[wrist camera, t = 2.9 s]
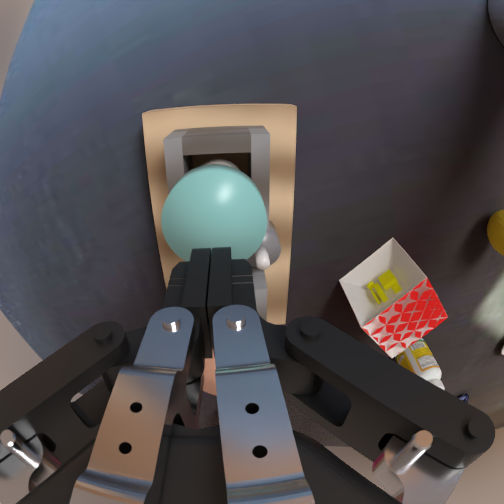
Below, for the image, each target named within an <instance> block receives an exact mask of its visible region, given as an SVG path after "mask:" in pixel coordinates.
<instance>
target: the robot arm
mask: <svg viewBox="0 0 504 504" xmlns="http://www.w3.org/2000/svg"><path fill="white" fill-rule="evenodd" d="M488 13H489V17H490V21H491V24H492V27H493V29H494V31H495V33H496V35H497V37H498V39H499V41H500V42H501V43H502V45H503V46H504V0H488ZM213 352H214V358H215V364H216V370H215V379H216V391H217V403H218V414H219V424H220V425H217V426H213V427H208V428H204V429H199V414H200V407H201V399H202V392H203V385H204V378H205V375H204V368H205V359H207V358H213ZM99 376H100V377H101V379H102V381H101V382H100V383H98V384H97V385H96V386H94V387H93V388H92V389H91V390H89V391H88V392H87V393H85V394H84V395H83V396H81V397H80V398H79V399H77V400H76V401H74V402H71V399H72V398H73V396H74V395H75V394H77V393H78V392H79V391H81V390H82V389H83V388H85V387H86V386H87V385H89V384H90V383H91V382H93V381H94V380H95V379H97V378H98V377H99ZM284 397H285V398H286V399H287V400H288V401H289V402H291V403H292V404H293V405H294V406H296V407H297V408H298V409H300V410H301V411H302V412H303V413H305V414H306V415H307V416H309V417H310V418H311V419H313V420H314V421H315V422H317V423H318V424H320V425H321V426H322V427H324V428H325V429H326V430H328V431H329V432H330V433H332V434H333V435H335V436H336V437H337V438H339V439H340V440H342V441H343V442H345V443H346V444H347V445H349V446H350V447H352V448H353V449H355V450H356V451H358V452H359V453H361V454H362V455H364V456H365V457H367V458H368V459H370V460H371V461H373V462H374V463H373V467H372V472H373V476H374V478H375V480H376V481H377V483H378V484H379V485H381V486H382V487H383V488H384V489H385V491H386V492H385V491H383V490H382V489H380V488H379V487H377V486H376V485H375V484H373V483H372V482H370V481H369V480H368V479H366V478H365V477H363V476H362V475H361V474H359V473H358V472H357V471H355V470H354V469H353V468H351V467H350V466H349V465H347V464H346V463H345V462H343V461H342V460H340V459H339V458H338V457H337V456H335V455H334V454H333V453H332V452H330V451H329V450H328V449H327V448H325V447H324V446H323V445H321V444H320V443H319V442H317V441H316V440H314V439H312V438H311V437H309V436H306V435H304V434H302V433H299V432H296V431H293V430H292V427H291V423H290V419H289V416H288V412H287V408H286V404H285V400H284ZM70 402H71V403H70ZM494 438H495V428H494V425H493V422H492V420H491V419H490V418H489V416H488V415H486V414H485V413H484V412H482V411H480V410H479V409H477V408H475V407H473V406H471V405H470V404H468V403H466V402H464V401H462V400H461V399H459V398H457V397H455V396H454V395H452V394H450V393H448V392H446V391H445V390H443V389H441V388H439V387H438V386H436V385H434V384H432V383H431V382H429V381H427V380H425V379H424V378H422V377H420V376H418V375H417V374H415V373H413V372H411V371H410V370H408V369H406V368H404V367H403V366H401V365H399V364H397V363H396V362H394V361H392V360H391V359H389V358H387V357H385V356H384V355H382V354H380V353H379V352H377V351H375V350H373V349H372V348H370V347H368V346H367V345H365V344H363V343H362V342H360V341H358V340H356V339H355V338H353V337H351V336H350V335H348V334H346V333H345V332H343V331H341V330H340V329H338V328H336V327H335V326H333V325H331V324H330V323H328V322H326V321H325V320H323V319H320V318H317V317H311V316H306V317H300V318H297V319H295V320H293V321H292V322H290V323H289V325H288V326H287V327H286V326H280V325H275V324H272V323H269V322H267V321H266V320H264V319H263V318H262V317H261V316H260V315H259V314H258V312H257V308H256V299H255V291H254V283H253V274H252V266H251V265H250V264H249V263H248V261H247V260H246V259H232V255H231V247H214V248H212V250H211V248H193V249H192V251H191V256H190V261H185V262H179V263H178V264H177V265H176V266H175V267H174V268H173V269H172V271H171V275H170V279H169V282H168V287H167V290H166V294H165V298H164V302H163V305H162V309H161V310H159V311H158V312H156V313H155V314H154V315H153V316H152V317H151V319H150V321H149V323H148V326H147V327H144V328H142V329H138V330H134V331H129V332H125V331H124V329H123V327H122V326H121V325H119V324H118V323H115V322H102V323H99V324H96V325H94V326H93V327H91V328H90V329H88V330H87V331H85V332H84V333H82V334H81V335H79V336H78V337H76V338H75V339H73V340H72V341H71V342H69V343H68V344H66V345H65V346H63V347H62V348H60V349H59V350H57V351H56V352H55V353H53V354H52V355H50V356H49V357H47V358H46V359H44V360H43V361H42V362H40V363H39V364H37V365H36V366H34V367H33V368H32V369H30V370H29V371H27V372H26V373H25V374H23V375H22V376H20V377H19V378H18V379H16V380H15V381H13V382H12V383H10V384H9V385H8V386H6V387H5V388H3V389H2V390H1V391H0V501H1V503H2V504H445V503H446V501H447V500H448V498H449V496H450V495H451V493H452V491H453V490H454V488H455V486H456V484H457V482H458V480H459V479H460V477H461V475H462V473H463V471H464V469H465V468H466V467H468V466H469V465H470V464H471V463H472V462H474V461H475V460H476V459H477V458H478V457H480V456H481V455H482V454H483V453H485V452H486V451H487V450H488V449H489V448H490V447H491V445H492V444H493V441H494Z"/></svg>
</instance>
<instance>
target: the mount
mask: <svg viewBox="0 0 504 504" xmlns="http://www.w3.org/2000/svg"><path fill="white" fill-rule="evenodd" d="M142 118H143V130H144V142H145V152H146V161H147V170H148V179H149V187H150V194H151V202H152V209H153V216H154V222H155V229H156V235H157V241H158V247H159V253H160V258H161V264H162V269H163V275H164V280H165V285H166V290H167V287H168V282H169V279H170V275H171V271H172V269H173V268H174V267H175V266H176V265H177V264H178V263H179V262H185V261H184V260H183V259H181V258H180V257H179V256H178V255H176V254H175V253H174V251H173V250H172V249H171V248H170V246H169V245H168V243H167V241H166V240H165V237H164V235H163V231H162V226H161V214H162V209H163V206H164V203H165V201H166V199H167V197H168V195H169V193H170V192H171V190H172V188H173V186H174V185H175V183H176V182H177V181H178V180H179V179H180V178H181V177H182V176H183V175H184V174H186V173H187V172H188V171H190V170H192V169H194V168H197V167H199V166H201V165H202V164H204V163H205V162H207V161H210V160H213V159H224V160H228V161H230V162H232V163H233V164H235V165H236V166H237V167H238V168H239V170H240V171H242V172H243V173H245V174H246V175H247V176H249V177H250V178H251V179H252V180H253V181H254V183H255V184H256V185H257V187H258V189H259V191H260V193H261V195H262V198H263V202H264V206H265V210H266V214H267V229H266V230H269V220H270V221H271V222H272V223H273V224H274V226H275V228H276V231H277V235H278V238H279V242H280V245H281V253H280V256H279V258H278V259H277V261H276V262H274V263H273V264H272V265H270V266H269V268H268V269H266V270H260V269H259V268H257V267H253V266H252V274H253V283H254V291H255V299H256V308H257V312H258V314H259V315H260V316H261V317H262V318H263V319H264V320H266V321H267V322H269V323H272V324H275V325H277V324H285V322H286V310H287V297H288V284H289V270H290V255H291V238H292V221H293V202H294V180H295V154H296V119H297V106H294V105H291V104H222V105H203V106H189V107H177V108H167V109H158V110H151V111H148V112H145V113H142Z"/></svg>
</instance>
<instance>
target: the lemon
mask: <svg viewBox="0 0 504 504" xmlns="http://www.w3.org/2000/svg"><path fill="white" fill-rule="evenodd" d="M487 235H488V239H489V241H490V243H491V245H492V246H493V248H494V249H495V250H496V251H498V252H499V253H500V254H501V255H503V256H504V210H499V211H497V212H495V213H494V214H493V215H492V216H491V218H490V219H489V222H488V225H487Z"/></svg>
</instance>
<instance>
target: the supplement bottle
mask: <svg viewBox="0 0 504 504" xmlns="http://www.w3.org/2000/svg"><path fill="white" fill-rule="evenodd" d="M395 358H396V360H397V362H398V364H399V365H401V366H403V367H404V368H406V369H408V370H410V371H411V372H413V373H415V374H417V375H418V376H420V377H422V378H424V379H425V380H427V381H429V382H431V383H432V384H434V385H436V386H438V387H439V388H441V389H443V390H444V386H443V384H442V381H441V380H440V378H441V370H440V368H439V366H438V364H437V362H436V360H435V359H434V357H433V355H432V353H431V351H430V350H429V348H428V346H427V344H426V343H425V341H424V340H423V339H422V338H421V339H419V340H418V341H417V342H415V343H414V344H412V345H411V346H410V347H408V348H407V349H405V350H404V351H402V352H401V353H400V354H398V355H397V356H395Z"/></svg>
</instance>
